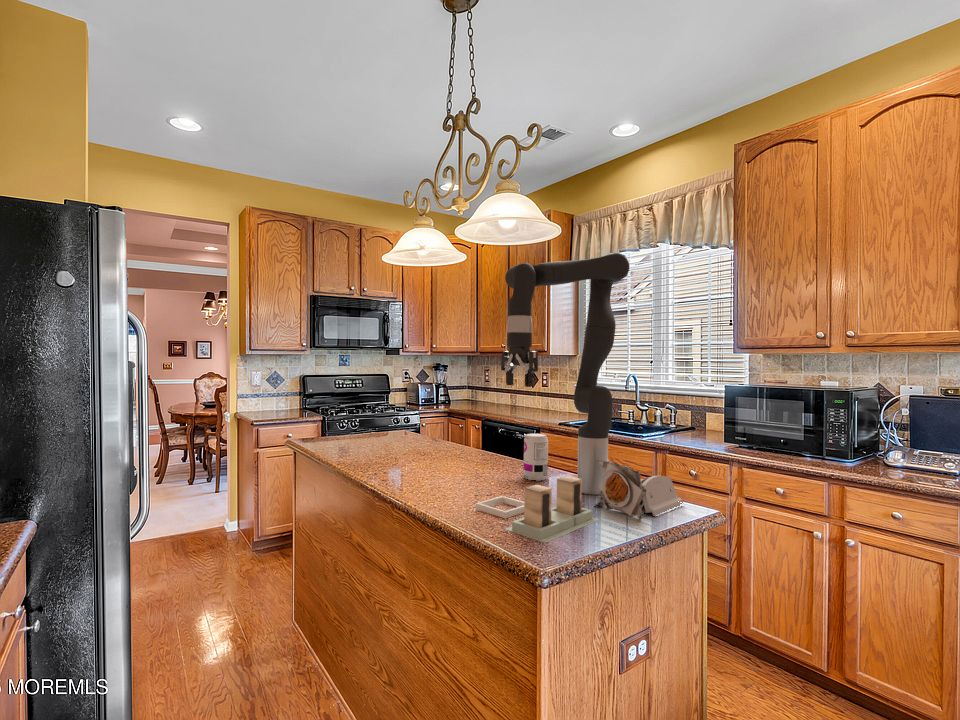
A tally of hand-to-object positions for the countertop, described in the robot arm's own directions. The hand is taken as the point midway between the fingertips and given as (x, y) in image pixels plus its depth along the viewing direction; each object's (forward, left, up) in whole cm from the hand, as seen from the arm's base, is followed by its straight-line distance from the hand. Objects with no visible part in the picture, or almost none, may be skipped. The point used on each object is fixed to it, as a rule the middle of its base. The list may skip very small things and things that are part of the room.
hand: (518, 386), depth 150 cm
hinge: (-26, +30, -34) cm, 52 cm away
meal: (-13, +27, -33) cm, 45 cm away
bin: (+13, +10, -33) cm, 37 cm away
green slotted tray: (+10, +26, -33) cm, 43 cm away
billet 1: (+16, +27, -32) cm, 45 cm away
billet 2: (+4, +25, -32) cm, 41 cm away
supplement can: (-20, -14, -33) cm, 41 cm away
